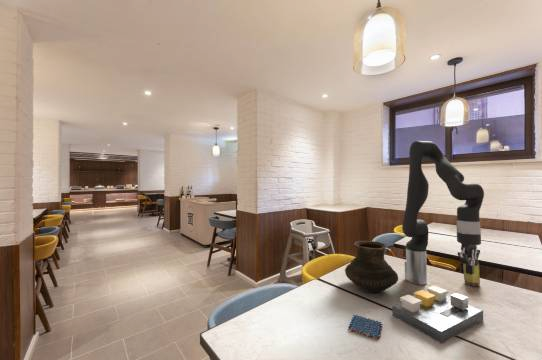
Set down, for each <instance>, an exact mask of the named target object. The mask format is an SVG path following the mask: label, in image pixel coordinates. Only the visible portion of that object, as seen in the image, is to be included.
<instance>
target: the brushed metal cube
mask: <svg viewBox="0 0 542 360" xmlns="http://www.w3.org/2000/svg"><path fill="white" fill-rule="evenodd" d="M450 297H451V305H452V306H454V307H457V308H459V309H461V310H464V309H466V308H468V305H469V296H466V295H463V294H460V293H458V292H454V293H453V294H450Z"/></svg>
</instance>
